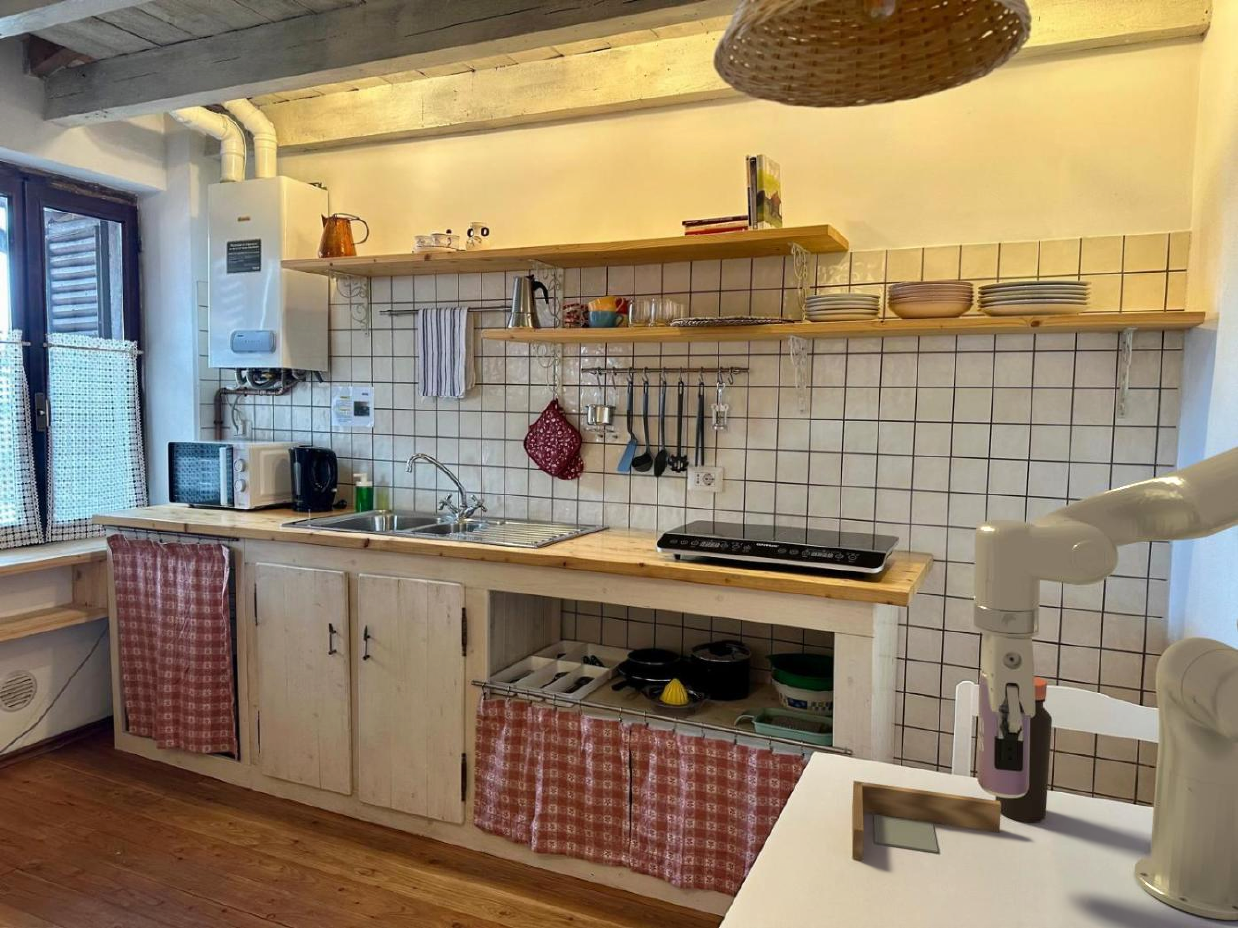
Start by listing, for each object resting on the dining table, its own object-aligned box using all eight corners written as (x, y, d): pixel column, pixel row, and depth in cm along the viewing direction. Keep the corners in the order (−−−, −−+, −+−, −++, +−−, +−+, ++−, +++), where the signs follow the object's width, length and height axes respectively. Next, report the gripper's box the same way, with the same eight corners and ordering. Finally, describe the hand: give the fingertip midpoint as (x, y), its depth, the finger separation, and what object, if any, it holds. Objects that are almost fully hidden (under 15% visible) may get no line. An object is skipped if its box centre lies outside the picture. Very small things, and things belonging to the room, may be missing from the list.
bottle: (1027, 827, 120) (1035, 690, 119) (985, 807, 126) (993, 676, 125) (1055, 817, 124) (1064, 683, 123) (1013, 798, 130) (1021, 670, 128)
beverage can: (1034, 801, 104) (1036, 682, 103) (983, 797, 105) (984, 679, 105) (1021, 780, 110) (1023, 667, 109) (973, 777, 111) (974, 665, 110)
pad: (932, 825, 120) (932, 823, 120) (937, 853, 113) (937, 850, 113) (873, 816, 122) (873, 814, 122) (875, 843, 115) (875, 841, 115)
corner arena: (998, 828, 120) (999, 800, 120) (1018, 885, 105) (1020, 854, 105) (852, 806, 125) (853, 780, 125) (852, 858, 111) (853, 828, 110)
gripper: (1054, 638, 97) (1051, 791, 98) (1024, 605, 114) (1022, 736, 115) (984, 634, 99) (981, 784, 100) (965, 602, 116) (963, 731, 117)
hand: (1003, 757), depth 107 cm, fingers closed on beverage can, 6 cm apart
